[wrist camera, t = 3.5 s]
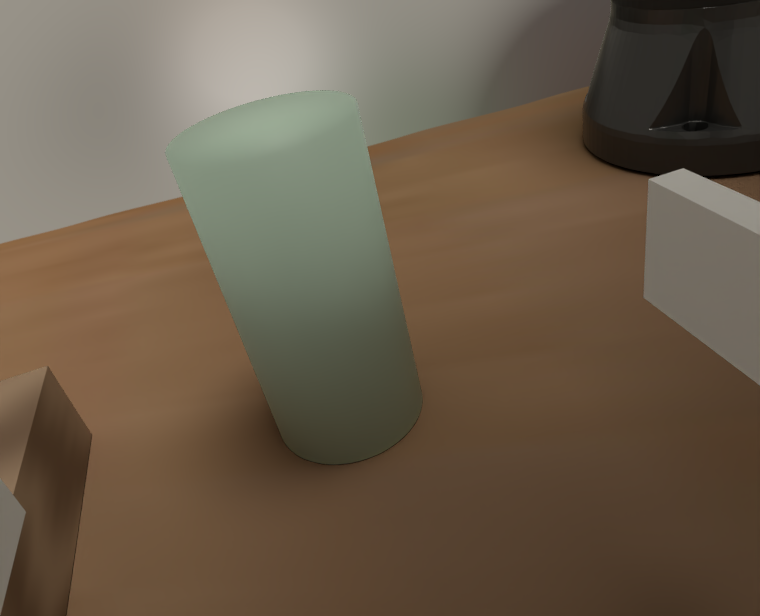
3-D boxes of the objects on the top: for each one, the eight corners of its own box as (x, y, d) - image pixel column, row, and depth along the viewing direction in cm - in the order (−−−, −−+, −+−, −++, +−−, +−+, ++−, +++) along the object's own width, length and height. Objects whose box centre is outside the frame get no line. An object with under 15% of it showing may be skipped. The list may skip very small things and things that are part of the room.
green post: (270, 388, 28) (165, 127, 21) (396, 343, 29) (332, 78, 22) (292, 486, 23) (165, 186, 16) (444, 429, 24) (381, 121, 17)
